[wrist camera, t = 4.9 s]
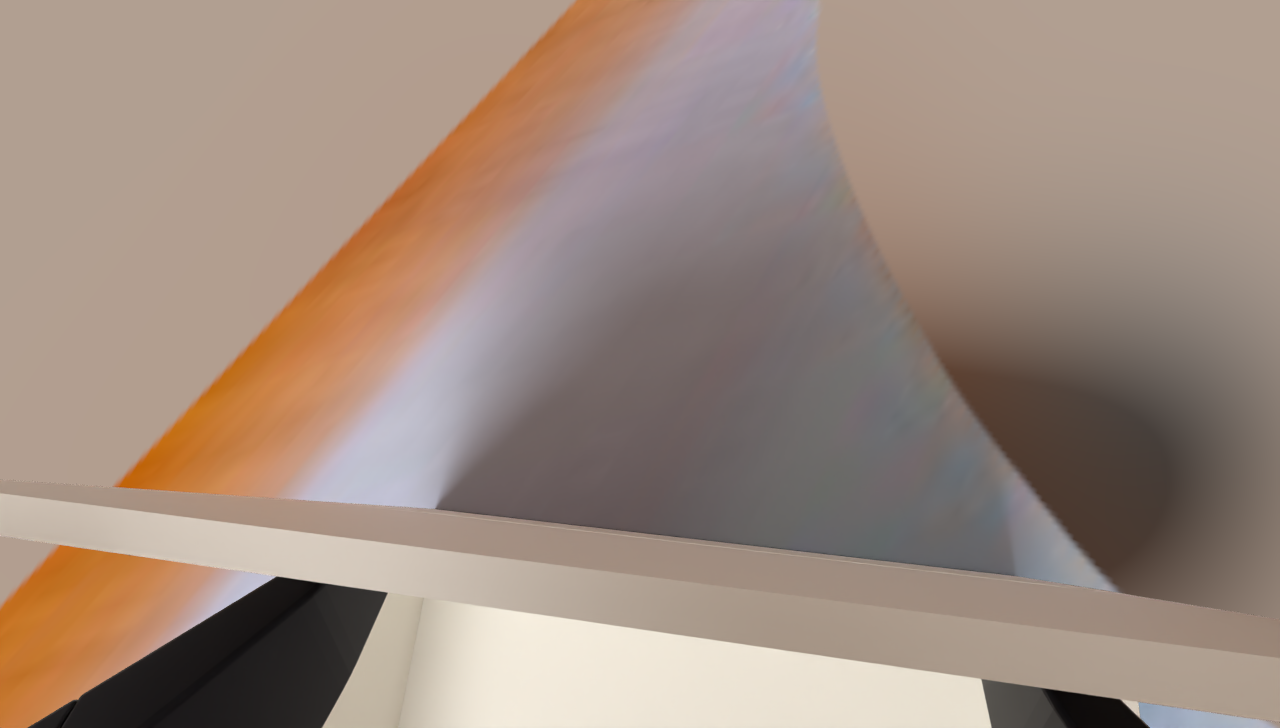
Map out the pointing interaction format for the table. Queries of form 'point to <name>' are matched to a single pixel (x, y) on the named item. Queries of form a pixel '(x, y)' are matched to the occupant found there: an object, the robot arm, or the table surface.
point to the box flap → (694, 591)
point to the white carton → (628, 672)
